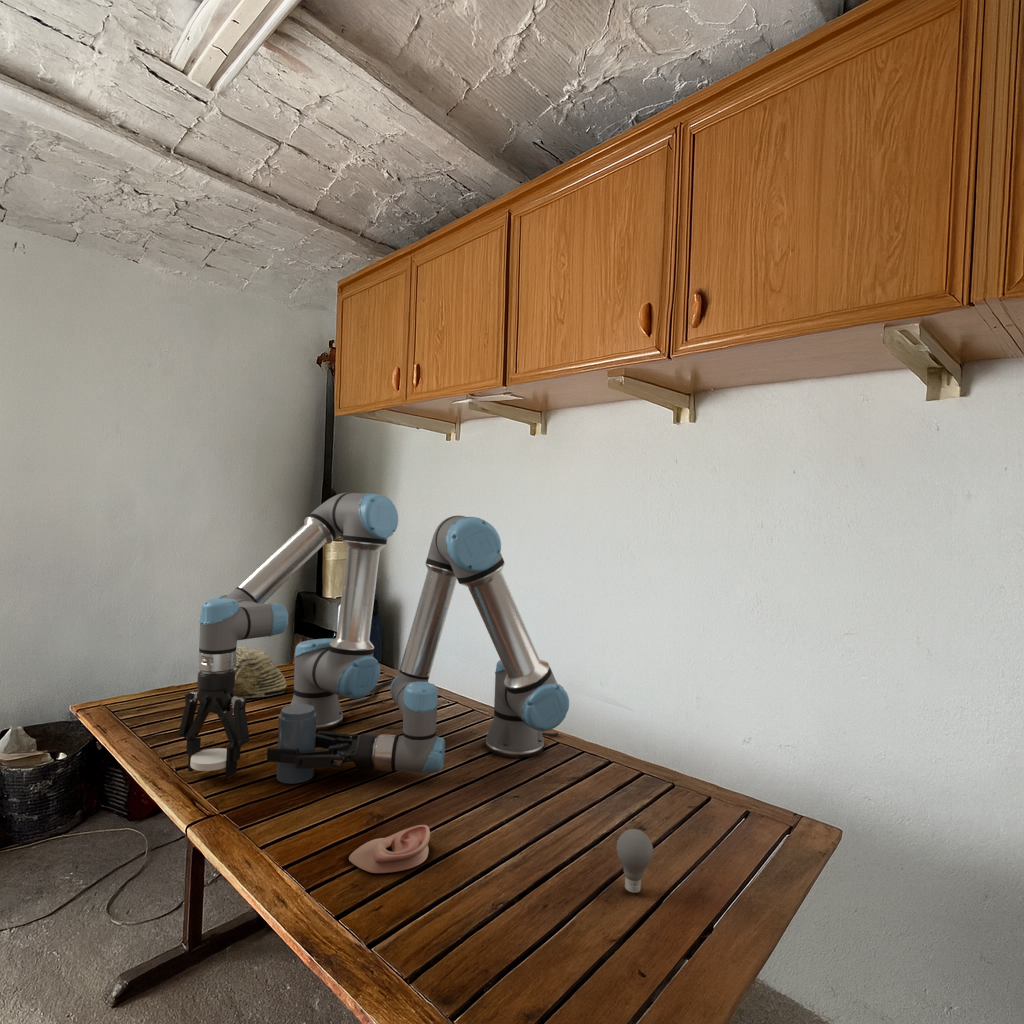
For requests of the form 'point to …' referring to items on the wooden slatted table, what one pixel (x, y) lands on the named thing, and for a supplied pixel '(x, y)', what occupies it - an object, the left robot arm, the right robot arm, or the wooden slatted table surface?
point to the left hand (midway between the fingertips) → (212, 771)
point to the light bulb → (634, 857)
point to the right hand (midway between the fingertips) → (275, 746)
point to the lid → (209, 759)
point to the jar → (296, 740)
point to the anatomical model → (393, 851)
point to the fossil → (256, 674)
